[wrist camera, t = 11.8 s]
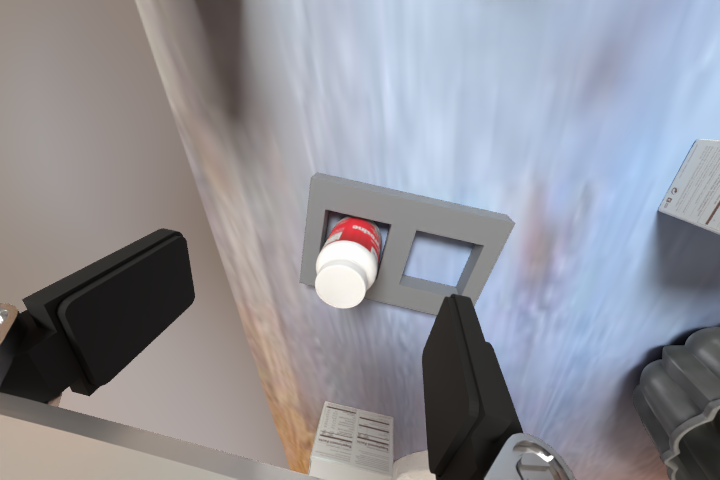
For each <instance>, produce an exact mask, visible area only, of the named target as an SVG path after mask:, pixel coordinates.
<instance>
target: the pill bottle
mask: <svg viewBox="0 0 720 480" xmlns="http://www.w3.org/2000/svg"><path fill="white" fill-rule="evenodd" d="M380 247H381V233H380V230H379V228H378V227H377V225H376V224H375V223H374V222H373V221H372V220H370V219H366V218H361V217H357V216H352V215H350V216H347V217H344V218H343V219H341V220H340V221H339V222H338V223H337V224H336V225H335V227H334V229H333V230H332V232H331V234H330V236H329V238H328V239H327V241H326V243H325V245H324V246H323V248H322V250H321V252H320V253H319V256H318V258H317V261H316V272H317V277H316V280H315V288H316V292H317V294H318V295H319V297H320V298H321V299H322V300H323V301H324V302H325V303H327V304H328V305H330V306H333V307H336V308H343V309H345V308H351V307H354V306H356V305H358V304H359V303H360V302H361V301H362V300H363V298H364V296H365V293H366V291H367V290H368V289H369V288H370V287H371V286H372V284H373V283H374V281H375V278H376V275H377V268H378V261H379V254H380Z"/></svg>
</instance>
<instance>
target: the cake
mask: <svg viewBox="0 0 720 480" xmlns="http://www.w3.org/2000/svg"><path fill="white" fill-rule="evenodd" d="M392 480H436V476H435V474H432V473H430V470H429V462H428V450H427V451H421V452H416V453H413V454H410V455H407V456H404V457H402V458H400V459H399V460H397V461H395V462H394V463H393V477H392Z"/></svg>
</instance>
